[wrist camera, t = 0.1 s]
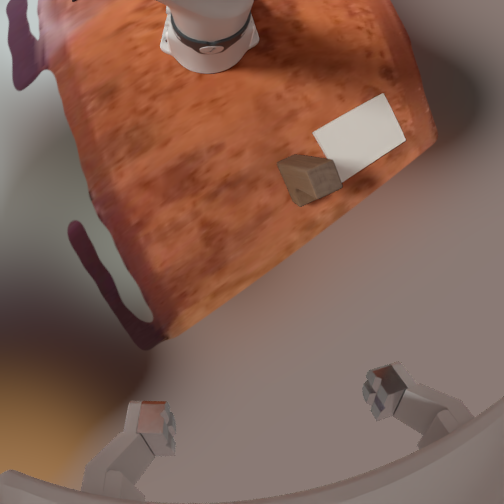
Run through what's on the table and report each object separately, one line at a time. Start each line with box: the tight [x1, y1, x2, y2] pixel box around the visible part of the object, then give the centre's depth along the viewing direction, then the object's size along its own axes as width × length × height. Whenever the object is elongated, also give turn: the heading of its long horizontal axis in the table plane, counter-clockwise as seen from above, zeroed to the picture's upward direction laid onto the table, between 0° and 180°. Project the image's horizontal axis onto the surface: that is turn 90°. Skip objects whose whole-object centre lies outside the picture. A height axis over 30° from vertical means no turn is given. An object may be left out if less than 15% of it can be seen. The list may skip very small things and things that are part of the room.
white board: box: [312, 93, 406, 182], centre depth 54 cm, size 20×12×1 cm, turn 123°
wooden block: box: [277, 154, 343, 207], centre depth 47 cm, size 9×4×18 cm, turn 25°
